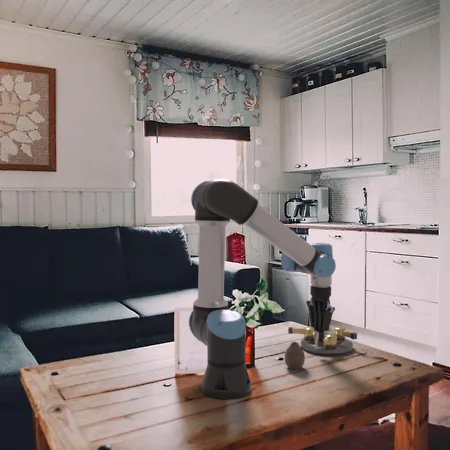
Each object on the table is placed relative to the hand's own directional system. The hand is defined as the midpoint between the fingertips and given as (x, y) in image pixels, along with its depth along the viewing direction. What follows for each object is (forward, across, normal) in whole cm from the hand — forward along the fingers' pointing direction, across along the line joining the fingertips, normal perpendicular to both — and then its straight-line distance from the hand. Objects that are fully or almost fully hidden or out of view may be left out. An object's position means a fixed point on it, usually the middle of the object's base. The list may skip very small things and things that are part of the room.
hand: (319, 347), depth 175 cm
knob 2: (+1, 0, +4) cm, 4 cm away
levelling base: (+4, -6, +10) cm, 13 cm away
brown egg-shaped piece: (+3, +4, -15) cm, 16 cm away
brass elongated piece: (+1, -3, +17) cm, 17 cm away
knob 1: (+2, -15, +5) cm, 16 cm away
